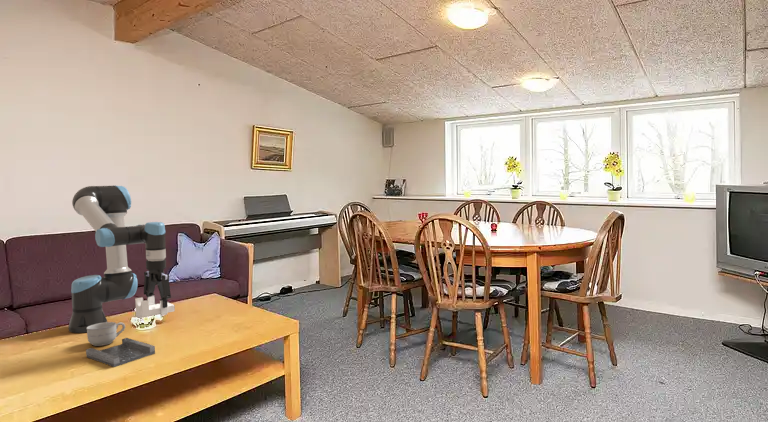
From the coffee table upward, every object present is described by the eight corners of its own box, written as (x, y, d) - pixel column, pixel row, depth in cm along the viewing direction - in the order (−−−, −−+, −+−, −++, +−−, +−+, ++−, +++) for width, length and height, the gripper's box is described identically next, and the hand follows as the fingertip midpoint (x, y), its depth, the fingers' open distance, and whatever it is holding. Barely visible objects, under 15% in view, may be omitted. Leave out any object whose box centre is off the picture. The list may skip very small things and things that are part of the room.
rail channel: (86, 357, 188) (85, 349, 188) (127, 344, 202) (126, 337, 202) (114, 367, 178) (113, 358, 178) (155, 353, 192) (154, 346, 192)
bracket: (142, 320, 198) (142, 301, 198) (135, 316, 203) (135, 298, 203) (174, 313, 208) (174, 295, 207) (167, 310, 213) (167, 292, 212)
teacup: (86, 350, 196) (85, 330, 196) (88, 342, 206) (87, 323, 205) (125, 344, 203) (125, 325, 202) (125, 336, 212) (125, 318, 212)
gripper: (132, 258, 207) (134, 311, 208) (163, 263, 196) (164, 319, 198) (149, 255, 213) (151, 307, 215) (179, 260, 202) (181, 315, 204)
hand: (157, 313), depth 206 cm, fingers closed on bracket, 8 cm apart
